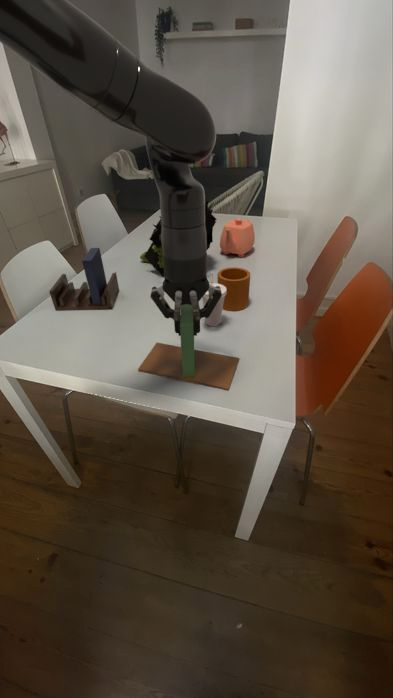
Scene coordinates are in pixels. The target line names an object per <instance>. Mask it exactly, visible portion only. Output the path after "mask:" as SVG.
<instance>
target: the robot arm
mask: <svg viewBox="0 0 393 698" xmlns="http://www.w3.org/2000/svg"><path fill="white" fill-rule="evenodd" d="M0 43H1V44H2V45H3V46H5V47H6V48H7V49H9V50H10V51H12V52H13V53H14V54H16V55H17V56H18V57H20V58H21V59H22V60H24V61H25V62H26V63H27V64H29V65H30V66H31V67H33V68H34V69H35V70H36V71H37V72H39V73H40V74H41V75H42V76H44V77H45V78H47V79H48V80H49V81H50V82H52V83H53V84H54V85H56V86H58V88H59V89H61V90H63V91H64V92H65V93H67V94H68V95H69V96H71V97H72V98H74V99H75V100H77V101H78V102H80V103H81V104H83V105H84V106H86V107H87V108H89V110H92V111H93V112H95V113H97V114H98V115H99V116H101V117H103V118H105V120H107V121H109V122H110V123H112V124H114V125H115V126H118V127H119V128H122V129H124V130H127V131H128V132H129V131H130V132H134V133H138V134H141V135H142V136H144V141H145V149H146V153H147V157H148V161H149V165H150V169H151V172H152V175H153V179H154V182H155V185H156V188H157V192H158V195H159V196H158V197H159V210H160V216H161V218H160V219H161V223H162V230H161V242H162V254H163V265H164V276H163V278H164V280H163V282H162V285H160V286H158V287H156V286H153V287H152V288H151V290H150V291H151V292H150V299H151V300H152V301H153V303H154V304H155V306H156V307H157V308H158V310H159V311H160V312H161V314H162V315H163V317H164V318H165V319H172V320H173V325H174V332H175V334H177V335H178V337H181V334H180V317H181V305H185V304H189V305H192V310H193V328H194V337H195V336H196V337H197V336H198V334H199V333H200V332H201V320H202V319H203V318H204V319H205V318H208V317H209V316H210V314H211V313H212V311H213V309H214V308H215V306H216V304H217V303H218V301H219V299H220V298H221V296H222V293H221V288H220V287H219V286H216V287H214V286H212V285H210V281H209V279H208V276H207V271H208V270H207V269H208V268H207V266H208V265H207V264H208V263H207V262H208V260H207V257H208V253H207V251H208V250H207V236H206V228H205V202H206V194H205V193H206V192H205V188H204V186H203V185H202V183H201V182H200V181H198V180H197V179H196V178H195V177H194V176H193V174H192V171H191V165H195V164H198V163H201V162H203V161H204V160H206V159H207V158H208V157H209V156H210V155H211V154H212V152H213V150H214V147H215V146H216V142H217V141H216V140H217V127H216V124H215V123H216V122H215V120H214V117H213V115H212V113H211V111H210V109H209V108H208V107H207V106H206V104H205V103H203V101H202V100H201V99H200V98H198V96H196V95H194V94H193V93H192V92H190V91H189V90H187V89H186V88H185V87H182V86H180V85H179V84H177V83H176V82H175V81H172V80H171V79H169V78H167V77H165V76H163V75H161V73H158V72H156V71H155V70H153V69H151V68H150V67H149V66H147V65H146V64H145V63H144V62H143V61H142V60H141V59H140V58H139V57H138V56H137V55H135V54H134V53H133V52H132V51H131V50H130V49H129V48H127V47H126V46H125V45H124V44H122V43H121V41H119V40H118V39H117V38H116V37H115V36H113V35H112V34H111V33H110V32H109V31H107V29H105V28H104V27H103V26H101V25H100V24H99V23H98V22H96V20H94V19H93V18H92V17H90V16H89V15H87V13H85V12H84V11H82V10H81V9H79V8H78V7H77V6H76V5H74V4H73V3H72V2H70V1H69V0H0ZM207 291H208V292H209V293H208V294H209V299H208V300H207V302H206V304H205V306H204V305H203V307H202V308H200V301H201V300H202V299H203V298H202V297H203V296H204V295H205V293H206V292H207ZM165 295H167V297H169V298H170V299H171V301H172V302H174V307H173V308H174V309H173V308H171V306H170V304H169V303H168V302H167V300H166V298H165Z"/></svg>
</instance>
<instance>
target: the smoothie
mask: <svg viewBox="0 0 393 698" xmlns="http://www.w3.org/2000/svg"><path fill="white" fill-rule="evenodd" d="M209 275H210V276H209V278H210V279H209V280H210V281H209V284H210V285H212V286H214V287H216V286H219V287H220V288H221V293H222V296H221V298H220V299H219V301H218V303H217V304H216V306H215V308H214V309H213V311H212V313H211V314H210V316H209V317H208V318H205V317H204V319H205V324H206V325H207V326H209V327H218V326H219V325H220V324H221V320H222V315H223V314H222V313H223V310H224V309H223V303H224V298H225V295H226V293H227V292H226V290H227V289H226V287H225V286H223V285H221V284H217V283H218V282H217V283H216V282H214V280H213V279H214V272H213V271H210V274H209ZM213 282H214V283H213ZM208 293H209V292H208V291H207V292H206V293H205V295H204V296H203V297H202V298H201V299H202V303H203V307H204V306H205V304H206V302H207V300H208V299H209V294H208Z"/></svg>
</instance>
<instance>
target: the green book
mask: <svg viewBox="0 0 393 698" xmlns="http://www.w3.org/2000/svg"><path fill="white" fill-rule="evenodd" d="M180 315H181V317H180V334H181V336H180V347H181V351H182V368H183V377H195V352H194V349H195V336H194V328H193V310H192V305H189V304H185V305H181V313H180Z"/></svg>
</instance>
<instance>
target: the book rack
mask: <svg viewBox="0 0 393 698" xmlns="http://www.w3.org/2000/svg"><path fill="white" fill-rule="evenodd" d="M118 281H119V280H118V276H117V272H112V274H111V275H110V278H109V280H108V282H107V286H106V288H105V290H104V292H103V294H102V296H101V301H102V305H93V302H92V298H91V295H90V291H89V287H88V283H87V281H83V282H82V284H81V285H80V287H79V288H76V287H75V285H74V282H73V281H68V277H67V274H66V273H62V274H61V275H60V276H59V277H58V279H57V281H56V282H55V283H54V284H53V286H51V288H50V290H49V291H48V292H49V295H50V298H51V301H52V304H53V308H54V310H55V311H97V310H98V311H99V310H113V308H114V306H115V304H116V301H117V299H118V296H119V293H120V286H119V282H118Z"/></svg>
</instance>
